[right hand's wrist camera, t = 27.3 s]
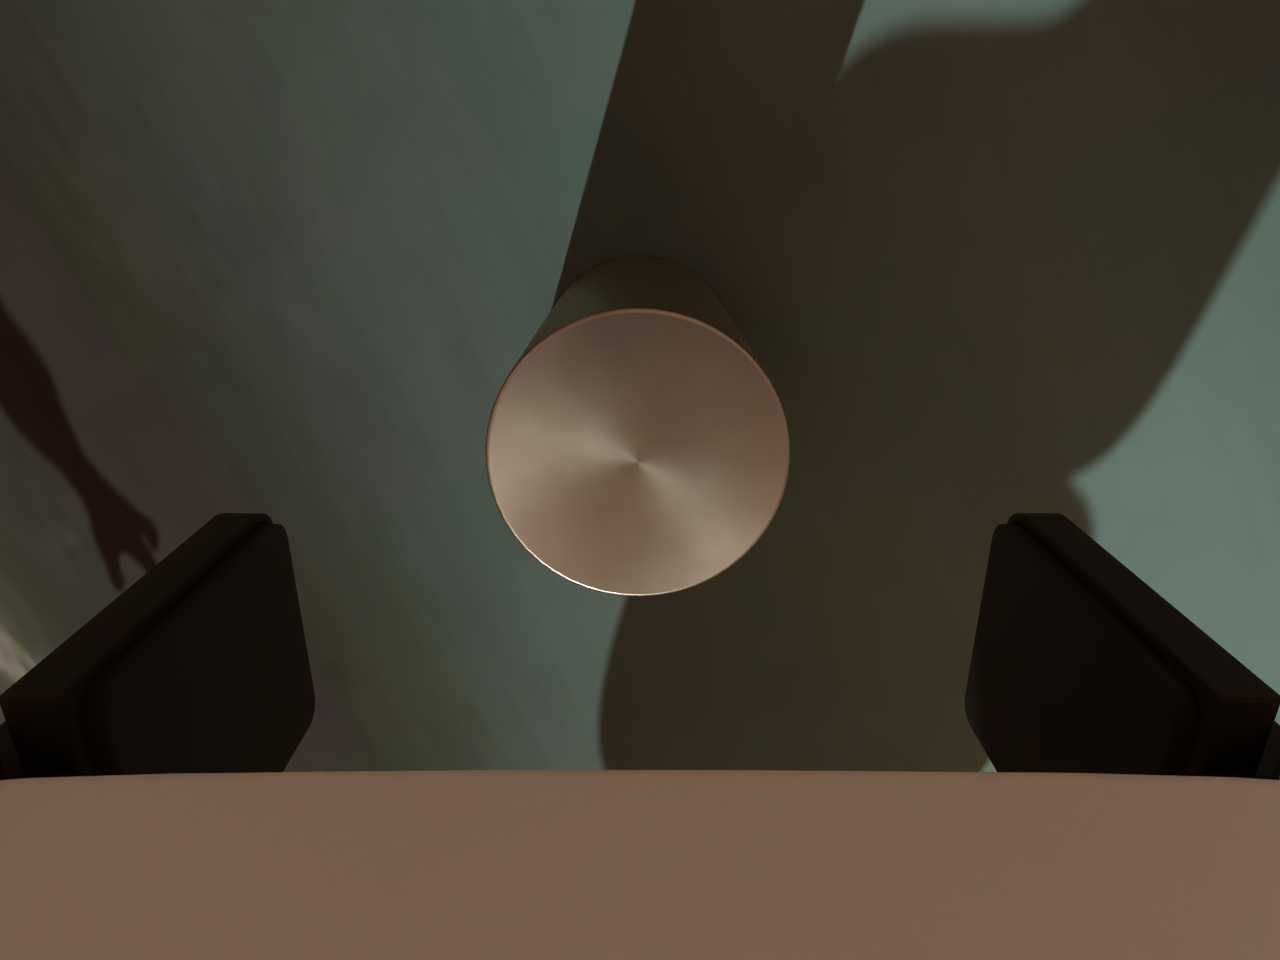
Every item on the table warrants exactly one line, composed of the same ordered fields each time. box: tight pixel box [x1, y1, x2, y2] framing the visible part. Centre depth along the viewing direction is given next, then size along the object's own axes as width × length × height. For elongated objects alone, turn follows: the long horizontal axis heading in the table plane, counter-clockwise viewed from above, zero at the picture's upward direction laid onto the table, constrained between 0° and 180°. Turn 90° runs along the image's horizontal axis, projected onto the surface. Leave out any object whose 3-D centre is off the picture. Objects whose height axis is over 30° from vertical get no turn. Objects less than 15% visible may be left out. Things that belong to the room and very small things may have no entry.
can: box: [486, 257, 790, 596], centre depth 23 cm, size 7×7×12 cm
